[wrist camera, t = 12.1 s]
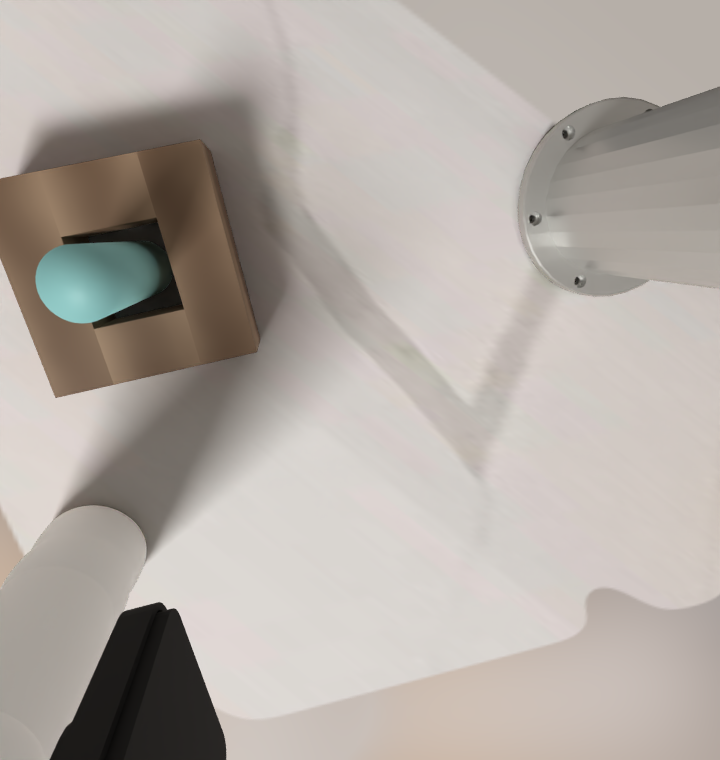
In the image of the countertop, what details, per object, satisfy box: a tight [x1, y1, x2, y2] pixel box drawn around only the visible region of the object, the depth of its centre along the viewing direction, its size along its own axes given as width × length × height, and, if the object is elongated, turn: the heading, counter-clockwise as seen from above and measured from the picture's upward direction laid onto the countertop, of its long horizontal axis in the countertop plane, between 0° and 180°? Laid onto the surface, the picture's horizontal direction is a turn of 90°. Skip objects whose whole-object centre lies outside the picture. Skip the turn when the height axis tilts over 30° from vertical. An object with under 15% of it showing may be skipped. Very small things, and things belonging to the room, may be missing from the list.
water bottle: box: [0, 505, 147, 760], centre depth 26 cm, size 7×7×25 cm
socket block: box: [0, 139, 260, 398], centre depth 31 cm, size 12×12×4 cm
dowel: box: [35, 241, 173, 323], centre depth 28 cm, size 3×3×11 cm
